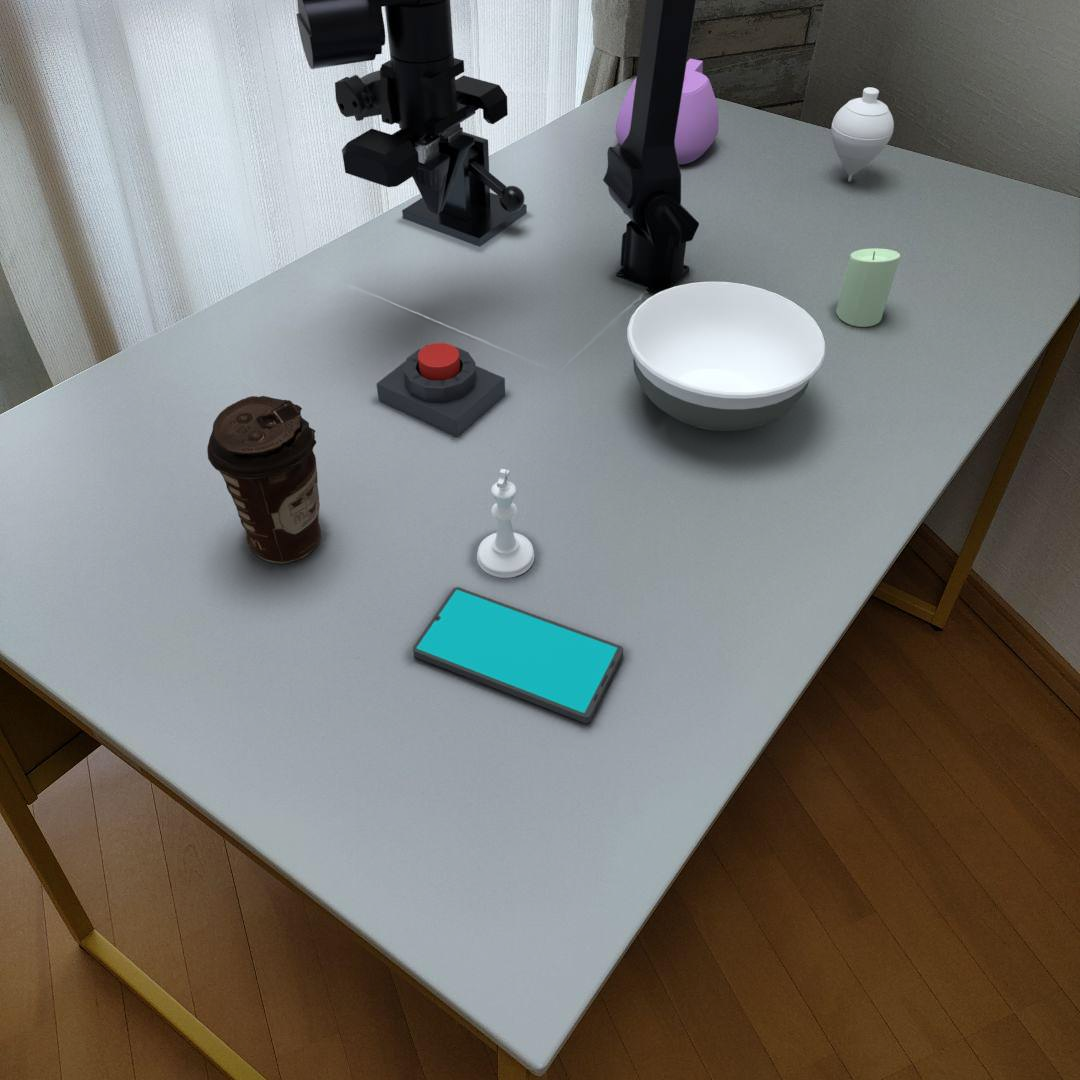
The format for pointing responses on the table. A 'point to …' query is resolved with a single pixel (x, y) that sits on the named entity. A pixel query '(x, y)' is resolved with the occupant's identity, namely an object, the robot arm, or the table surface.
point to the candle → (867, 286)
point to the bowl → (724, 353)
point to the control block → (442, 394)
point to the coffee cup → (269, 475)
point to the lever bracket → (467, 206)
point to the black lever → (496, 185)
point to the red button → (439, 361)
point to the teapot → (683, 115)
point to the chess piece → (505, 536)
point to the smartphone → (520, 653)
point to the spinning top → (861, 130)
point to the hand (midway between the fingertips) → (435, 211)
